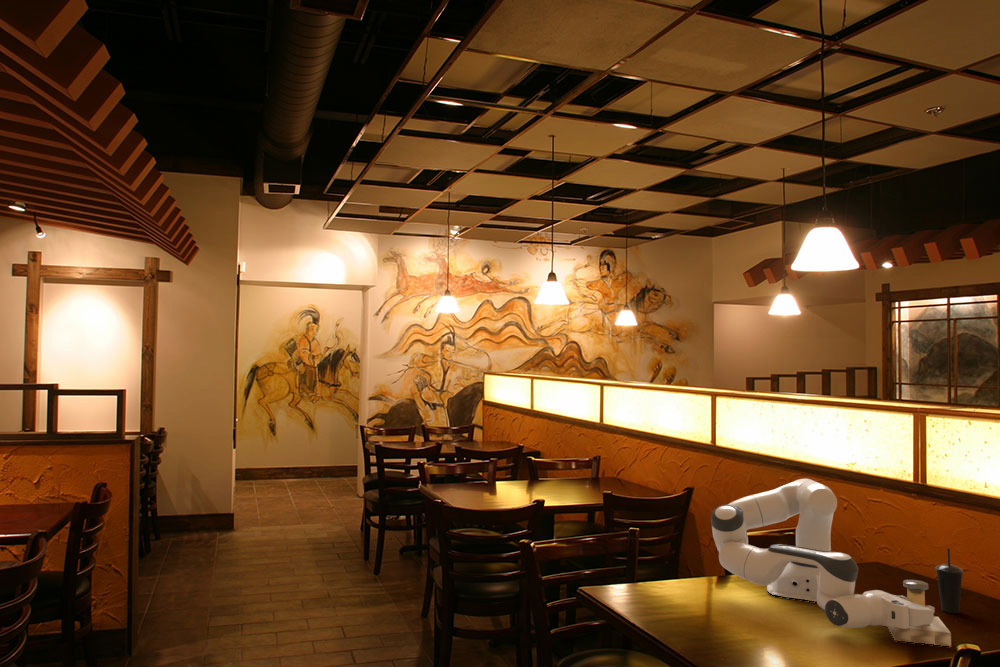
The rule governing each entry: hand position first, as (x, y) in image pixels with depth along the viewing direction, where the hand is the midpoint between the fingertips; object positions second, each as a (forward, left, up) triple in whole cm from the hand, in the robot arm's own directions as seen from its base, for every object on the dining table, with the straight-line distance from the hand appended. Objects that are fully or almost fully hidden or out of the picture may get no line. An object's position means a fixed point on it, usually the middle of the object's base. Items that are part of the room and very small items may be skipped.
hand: (918, 604), depth 209 cm
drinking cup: (+14, +27, -9) cm, 32 cm away
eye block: (-1, -1, -9) cm, 9 cm away
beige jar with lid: (-1, -1, -9) cm, 9 cm away
